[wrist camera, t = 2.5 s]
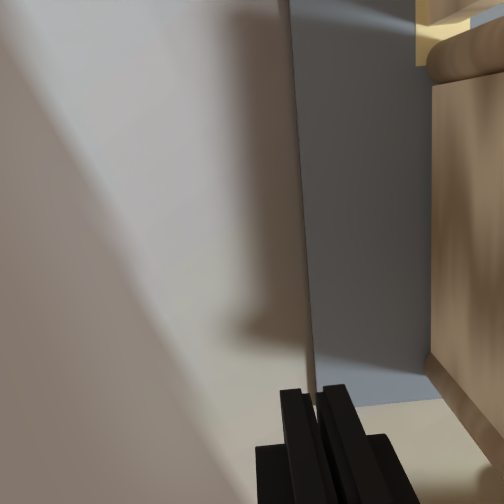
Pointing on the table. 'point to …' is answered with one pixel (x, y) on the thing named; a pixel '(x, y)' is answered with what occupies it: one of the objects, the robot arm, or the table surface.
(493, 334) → the fence swing panel
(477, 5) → the fence fixed section
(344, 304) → the card
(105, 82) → the table surface
